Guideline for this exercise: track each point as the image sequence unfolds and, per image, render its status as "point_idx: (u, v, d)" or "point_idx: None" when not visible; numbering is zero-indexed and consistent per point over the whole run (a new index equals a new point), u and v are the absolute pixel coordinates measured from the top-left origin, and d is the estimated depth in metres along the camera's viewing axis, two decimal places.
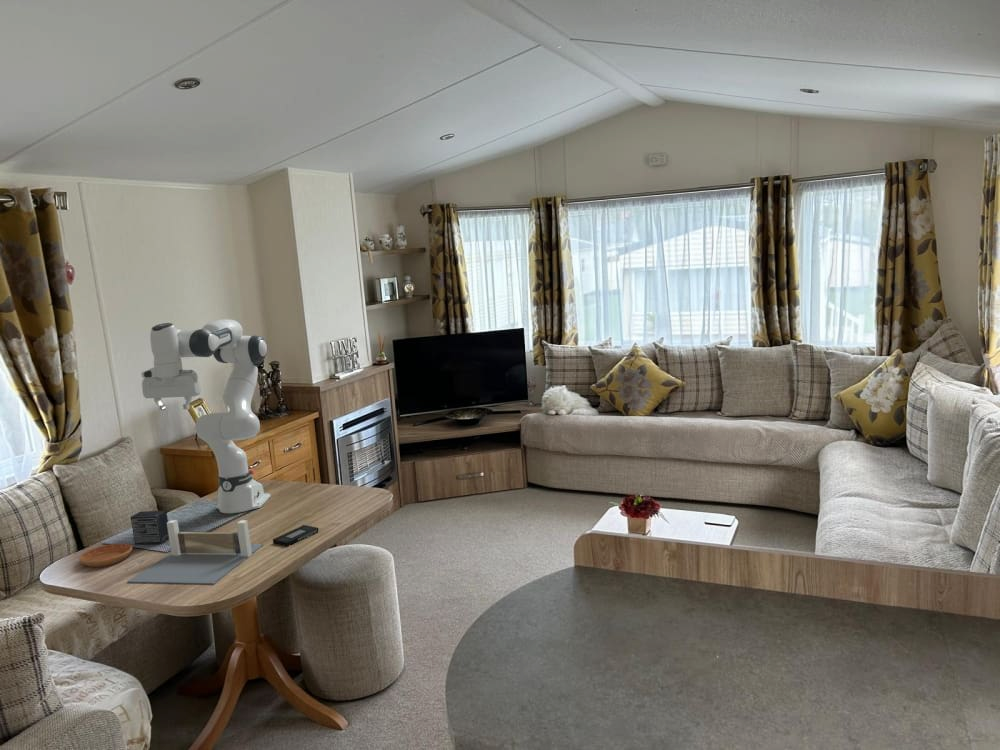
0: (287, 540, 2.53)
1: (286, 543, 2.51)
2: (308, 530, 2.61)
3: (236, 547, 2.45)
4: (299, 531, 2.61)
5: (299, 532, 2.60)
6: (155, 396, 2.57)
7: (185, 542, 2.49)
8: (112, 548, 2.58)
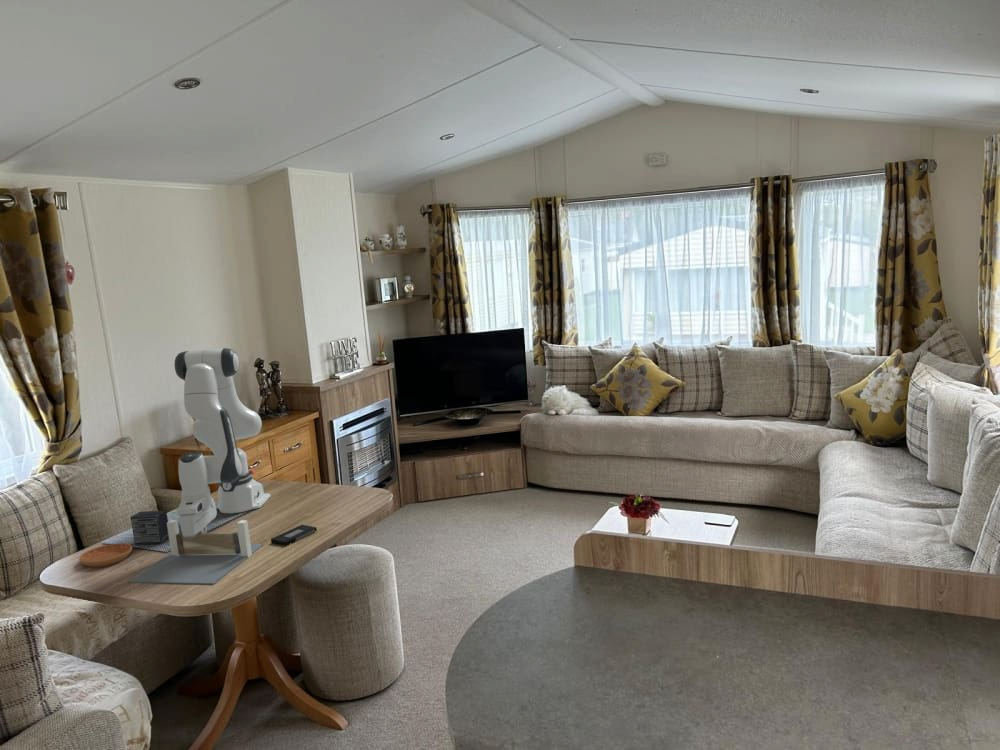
0: (285, 540, 2.53)
1: (284, 543, 2.52)
2: (306, 530, 2.61)
3: (236, 547, 2.45)
4: (297, 531, 2.61)
5: (297, 532, 2.61)
6: (199, 530, 2.44)
7: (183, 543, 2.48)
8: (112, 548, 2.58)
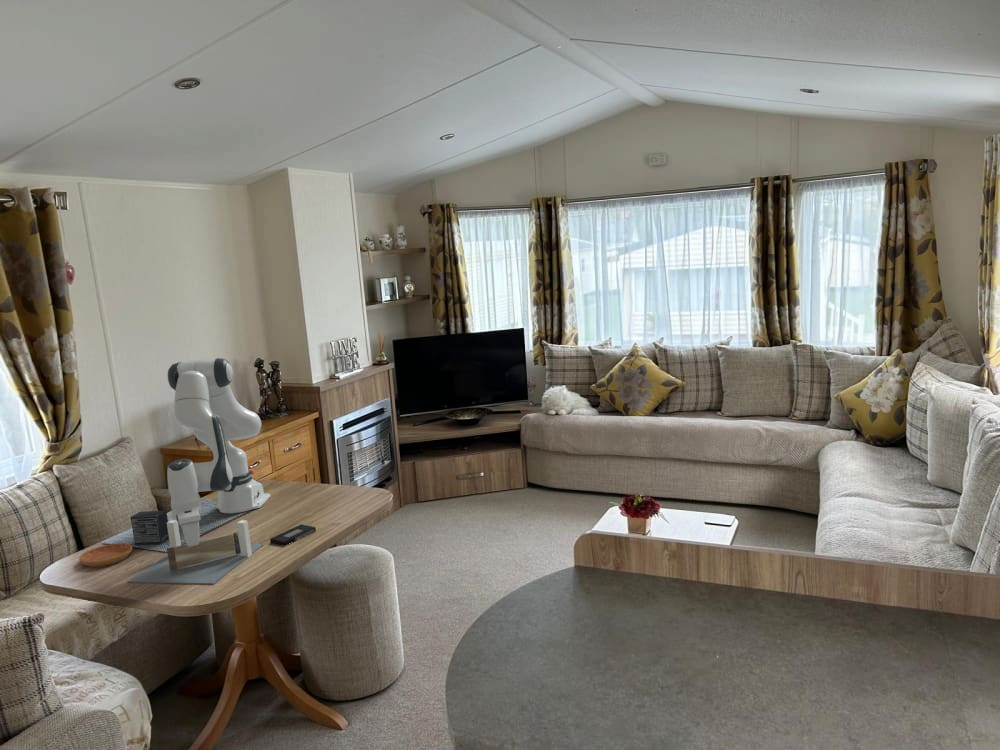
0: (284, 539, 2.54)
1: (283, 542, 2.52)
2: (305, 529, 2.62)
3: (238, 547, 2.45)
4: (296, 530, 2.62)
5: (296, 531, 2.61)
6: None
7: (176, 557, 2.36)
8: (112, 548, 2.58)
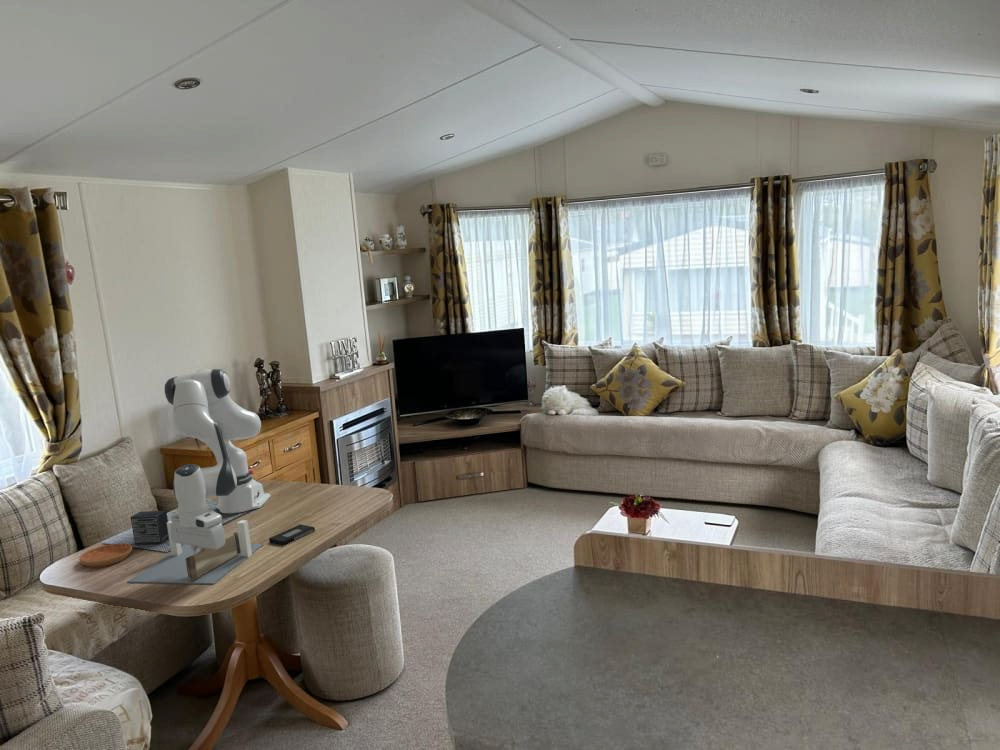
0: (283, 539, 2.54)
1: (282, 542, 2.52)
2: (304, 529, 2.62)
3: (239, 546, 2.46)
4: (295, 530, 2.62)
5: (295, 531, 2.61)
6: None
7: (196, 565, 2.28)
8: (112, 548, 2.58)
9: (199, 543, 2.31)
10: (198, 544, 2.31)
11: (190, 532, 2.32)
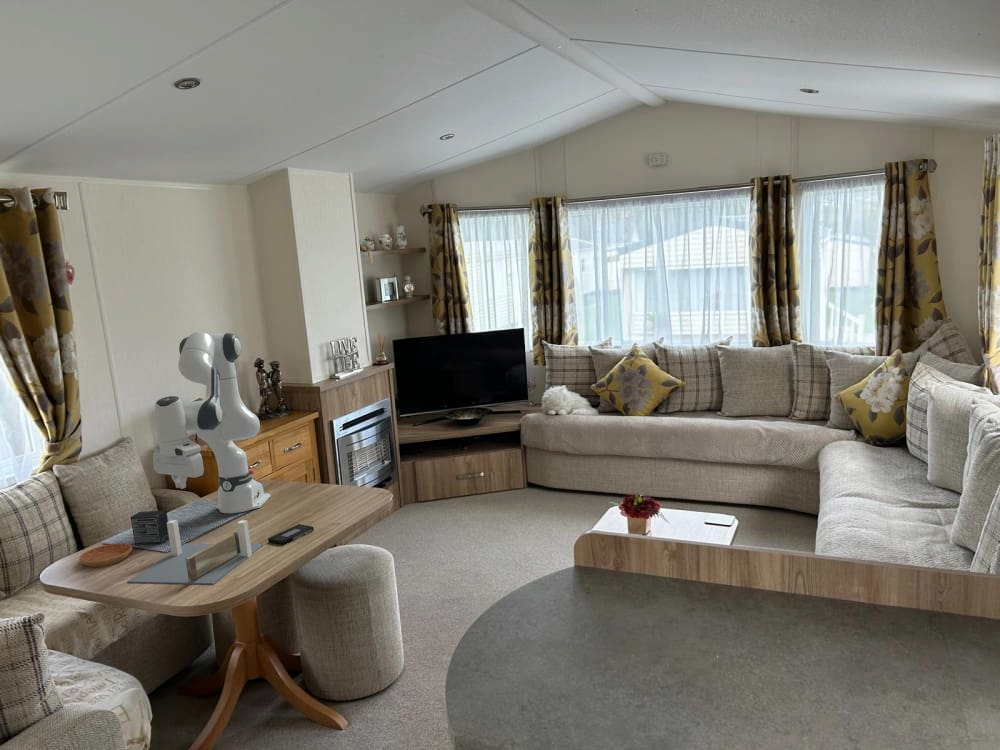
0: (282, 539, 2.54)
1: (281, 542, 2.53)
2: (303, 529, 2.62)
3: (239, 546, 2.46)
4: (294, 530, 2.62)
5: (294, 531, 2.61)
6: None
7: (196, 565, 2.28)
8: (112, 548, 2.58)
9: (179, 472, 2.38)
10: (178, 473, 2.38)
11: (171, 462, 2.40)
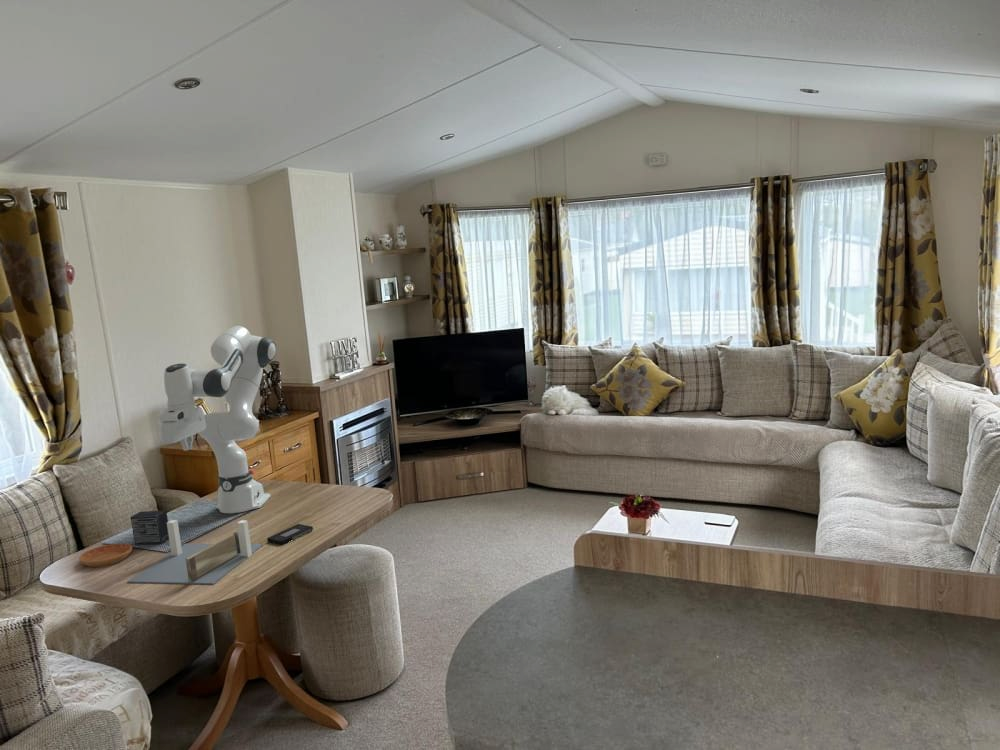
0: (281, 539, 2.54)
1: (280, 542, 2.53)
2: (302, 529, 2.62)
3: (239, 546, 2.46)
4: (293, 530, 2.62)
5: (293, 531, 2.61)
6: (181, 438, 2.53)
7: (196, 565, 2.28)
8: (112, 548, 2.58)
9: None
10: None
11: None
